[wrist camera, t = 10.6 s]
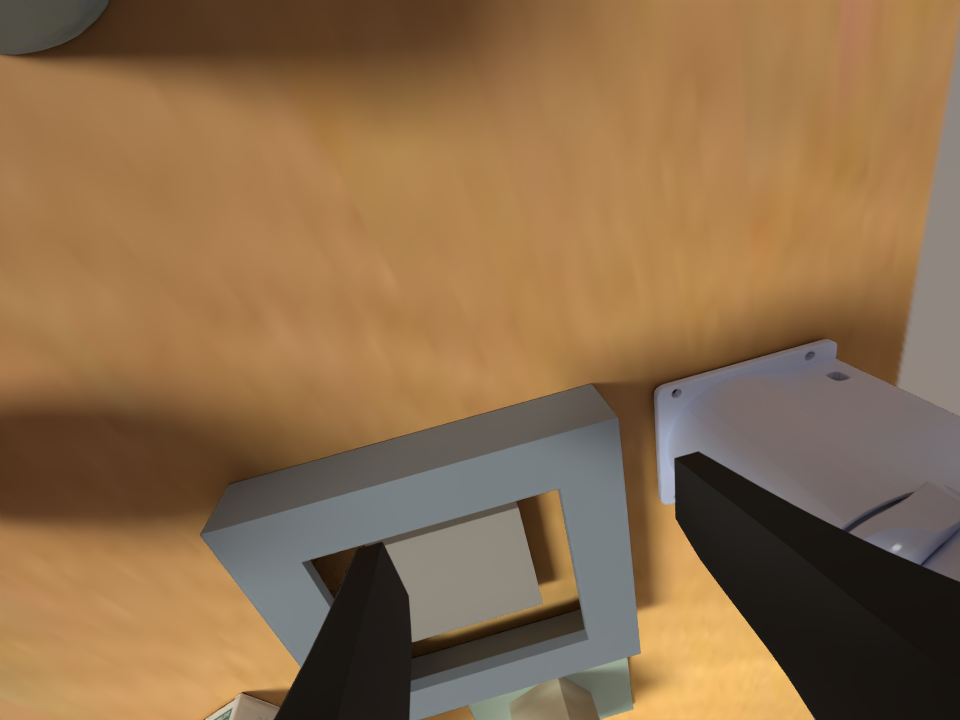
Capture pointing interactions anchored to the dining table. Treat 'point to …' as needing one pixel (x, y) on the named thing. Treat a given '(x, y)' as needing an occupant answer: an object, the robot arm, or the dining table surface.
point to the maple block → (554, 702)
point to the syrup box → (246, 710)
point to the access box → (451, 542)
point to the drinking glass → (44, 23)
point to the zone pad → (601, 681)
